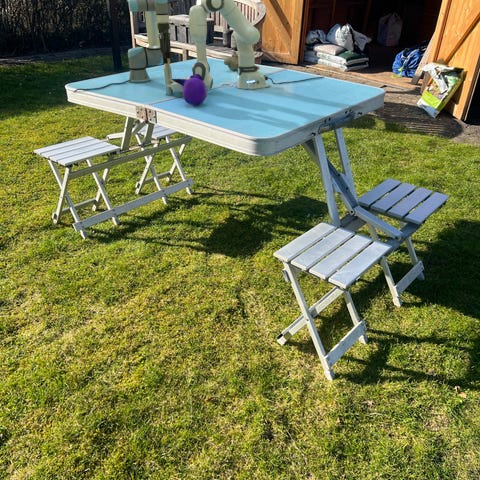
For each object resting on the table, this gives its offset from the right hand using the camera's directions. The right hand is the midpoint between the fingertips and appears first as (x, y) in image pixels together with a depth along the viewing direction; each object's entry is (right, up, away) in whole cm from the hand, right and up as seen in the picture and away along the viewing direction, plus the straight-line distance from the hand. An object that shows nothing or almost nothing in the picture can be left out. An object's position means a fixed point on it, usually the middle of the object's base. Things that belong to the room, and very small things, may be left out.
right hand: (167, 84), depth 295 cm
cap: (+1, +13, -8) cm, 15 cm away
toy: (+18, -18, -18) cm, 32 cm away
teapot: (+44, +37, +74) cm, 94 cm away
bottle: (+1, -6, +3) cm, 7 cm away
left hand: (+1, +11, -7) cm, 13 cm away
